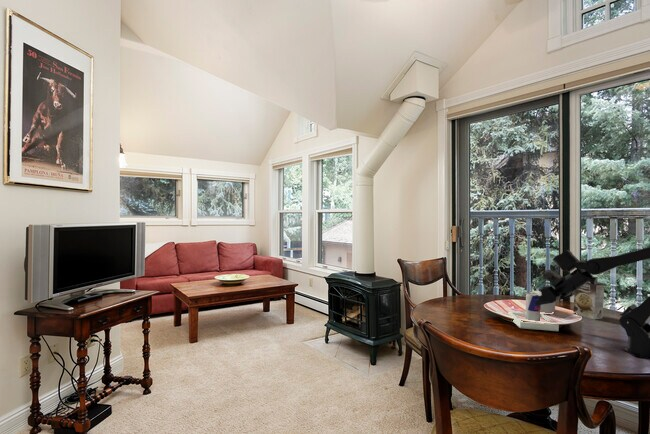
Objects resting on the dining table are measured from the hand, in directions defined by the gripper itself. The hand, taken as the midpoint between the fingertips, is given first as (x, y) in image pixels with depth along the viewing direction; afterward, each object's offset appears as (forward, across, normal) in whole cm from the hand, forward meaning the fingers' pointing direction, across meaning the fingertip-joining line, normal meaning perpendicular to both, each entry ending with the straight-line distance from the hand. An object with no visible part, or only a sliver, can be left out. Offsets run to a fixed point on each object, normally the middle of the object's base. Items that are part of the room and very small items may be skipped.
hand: (541, 302), depth 138 cm
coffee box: (+4, -34, +11) cm, 36 cm away
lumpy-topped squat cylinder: (+14, -24, 0) cm, 28 cm away
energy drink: (+9, 0, +4) cm, 10 cm away
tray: (+9, 0, +4) cm, 10 cm away
